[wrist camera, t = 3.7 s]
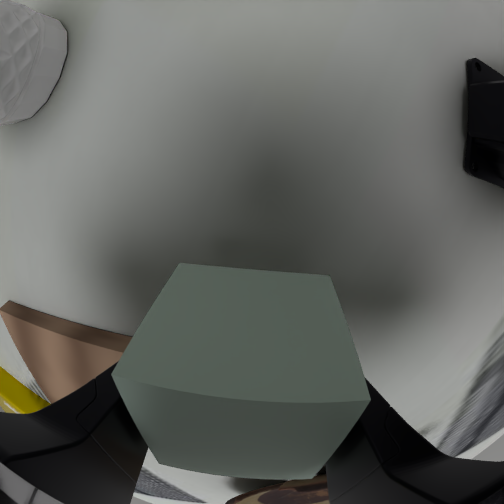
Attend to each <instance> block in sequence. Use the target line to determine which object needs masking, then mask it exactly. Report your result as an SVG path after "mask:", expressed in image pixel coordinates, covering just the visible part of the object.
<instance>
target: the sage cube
mask: <svg viewBox="0 0 504 504" xmlns="http://www.w3.org/2000/svg"><path fill="white" fill-rule="evenodd" d="M111 375H112V377H113V380H114V382H115V384H116V386H117V389H118V391H119V393H120V395H121V397H122V399H123V401H124V403H125V405H126V407H127V409H128V411H129V413H130V415H131V417H132V419H133V421H134V423H135V424H136V426H137V428H138V430H139V432H140V433H141V435H142V437H143V439H144V440H145V442H146V444H147V445H148V447H149V449H150V450H151V452H152V453H153V455H154V456H155V458H156V460H157V461H158V463H159V464H163V465H167V466H171V467H175V468H180V469H185V470H190V471H195V472H201V473H207V474H213V475H221V476H229V477H239V478H251V479H274V480H295V479H312V478H313V477H314V476H315V475H316V474H317V472H318V471H319V470H320V469H321V468H322V467H323V465H324V464H325V463H326V462H327V461H328V459H329V458H330V457H331V456H332V454H333V453H334V452H335V451H336V449H337V448H338V447H339V445H340V444H341V443H342V441H343V440H344V439H345V437H346V436H347V435H348V433H349V432H350V431H351V429H352V428H353V426H354V425H355V423H356V422H357V420H358V419H359V418H360V416H361V415H362V413H363V411H364V410H365V408H366V407H367V405H368V404H369V402H370V401H371V398H370V395H369V391H368V388H367V384H366V381H365V378H364V374H363V371H362V368H361V365H360V361H359V358H358V355H357V352H356V349H355V346H354V343H353V340H352V337H351V334H350V331H349V328H348V325H347V322H346V319H345V316H344V313H343V311H342V308H341V305H340V302H339V299H338V297H337V294H336V291H335V288H334V286H333V283H332V280H331V278H330V275H318V274H305V273H292V272H279V271H266V270H254V269H242V268H231V267H220V266H209V265H198V264H187V263H179V264H178V266H177V267H176V269H175V270H174V272H173V273H172V275H171V277H170V278H169V280H168V281H167V283H166V284H165V286H164V287H163V289H162V290H161V292H160V294H159V295H158V297H157V298H156V300H155V302H154V303H153V305H152V306H151V308H150V310H149V311H148V313H147V314H146V316H145V318H144V319H143V321H142V323H141V324H140V326H139V327H138V329H137V331H136V332H135V334H134V336H133V337H132V339H131V341H130V343H129V344H128V346H127V348H126V349H125V351H124V353H123V355H122V356H121V358H120V360H119V362H118V363H117V365H116V367H115V369H114V370H113V372H112V374H111Z"/></svg>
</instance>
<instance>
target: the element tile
mask: <svg viewBox="0 0 504 504" xmlns="http://www.w3.org/2000/svg"><path fill="white" fill-rule="evenodd" d="M48 405H50V403H49V402H47V401H45V400H44V399H42V398H41V397H40V396H38V395H37V394H35V393H34V392H32V391H31V390H30V389H28V388H27V387H26V386H24V385H23V384H22V383H20V382H19V381H18V380H16V379H15V378H14V377H13V376H11V375H10V374H9V373H8V372H7V371H5V370H4V369H3V368H2V367H0V406H1V407H2V408H3V410H4V411H5V412H6V413H18V414H28V413H33V412H36V411H38V410H41V409H42V408H44V407H46V406H48Z"/></svg>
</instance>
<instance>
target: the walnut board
mask: <svg viewBox="0 0 504 504" xmlns="http://www.w3.org/2000/svg"><path fill="white" fill-rule="evenodd" d="M0 314H1V316H2V318H3V320H4V323H5V325H6V327H7V329H8V331H9V333H10V335H11V337H12V339H13V341H14V343H15V345H16V347H17V349H18V351H19V353H20V355H21V356H22V358H23V360H24V362H25V363H26V365H27V367H28V369H29V370H30V372H31V373H32V375H33V377H34V378H35V380H36V381H37V383H38V385H39V386H40V388H41V389H42V391H43V392H44V393H45V395H46V396H47V398H48V399H49V401H50V402H51V403H54V402H56V401H58V400H59V399H61V398H63V397H65V396H67V395H69V394H70V393H72V392H74V391H75V390H77V389H79V388H80V387H82V386H83V385H85V384H86V383H88V382H89V381H90V380H92V379H93V378H95V377H96V376H98V375H99V374H101V373H102V372H103V371H105V370H106V369H108V368H109V367H111V366H112V365H113V364H115V363H116V362H118V361H119V360H120V358H121V356H122V355H123V353H124V351H125V349H126V348H127V346H128V344H129V343H130V341H131V339H132V337H130V336H126V335H121V334H117V333H112V332H108V331H104V330H100V329H96V328H92V327H89V326H85V325H81V324H78V323H74V322H71V321H67V320H64V319H61V318H57V317H54V316H51V315H48V314H45V313H42V312H39V311H36V310H33V309H30V308H27V307H24V306H22V305H19V304H16V303H14V302H11V301H8V302H7V303H5V304H4V305H3V306H2V307H1V308H0Z"/></svg>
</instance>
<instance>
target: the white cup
mask: <svg viewBox="0 0 504 504" xmlns="http://www.w3.org/2000/svg"><path fill="white" fill-rule="evenodd" d="M66 54H67V31H66V30H65V28H64V27H63V25H62V24H61V22H60V21H59V20H57V19H55V18H52V17H50V16H47V15H44V14H42V13H39V12H35V11H34V10H33V9H31V8H29V7H27V6H25V5H23V4H20V3H16V2H12V1H11V0H0V126H2V125H7V124H13V123H18V122H20V121H23V120H26V119H28V118H31V117H32V116H33V115H34V114H35V113H36V112H37V111H38V110H39V109H40V108H41V107H42V105H43V104H44V103H45V102H46V101H47V100H48V98H49V96H50V94H51V92H52V90H53V88H54V86H55V85H56V83H57V81H58V79H59V77H60V74H61V71H62V67H63V64H64V61H65V58H66Z"/></svg>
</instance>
